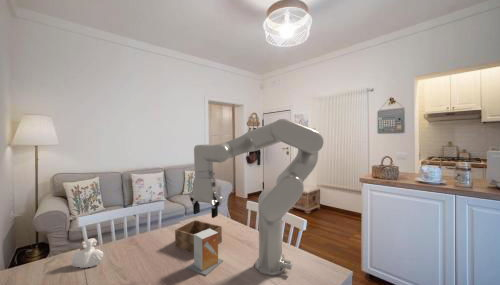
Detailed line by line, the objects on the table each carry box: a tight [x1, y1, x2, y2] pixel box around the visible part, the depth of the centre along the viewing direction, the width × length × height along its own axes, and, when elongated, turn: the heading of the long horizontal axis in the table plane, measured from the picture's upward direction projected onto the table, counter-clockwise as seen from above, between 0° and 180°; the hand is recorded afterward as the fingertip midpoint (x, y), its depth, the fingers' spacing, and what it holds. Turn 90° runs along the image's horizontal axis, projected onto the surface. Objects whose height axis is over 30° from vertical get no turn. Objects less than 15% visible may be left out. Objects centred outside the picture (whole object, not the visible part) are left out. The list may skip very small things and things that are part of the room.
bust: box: [71, 237, 104, 269], centre depth 92 cm, size 12×8×11 cm
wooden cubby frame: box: [174, 219, 223, 253], centre depth 107 cm, size 18×14×8 cm
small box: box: [193, 228, 219, 271], centre depth 90 cm, size 8×6×13 cm
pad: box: [186, 258, 224, 277], centre depth 90 cm, size 10×11×1 cm
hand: (205, 215), depth 89 cm, fingers open, 9 cm apart
